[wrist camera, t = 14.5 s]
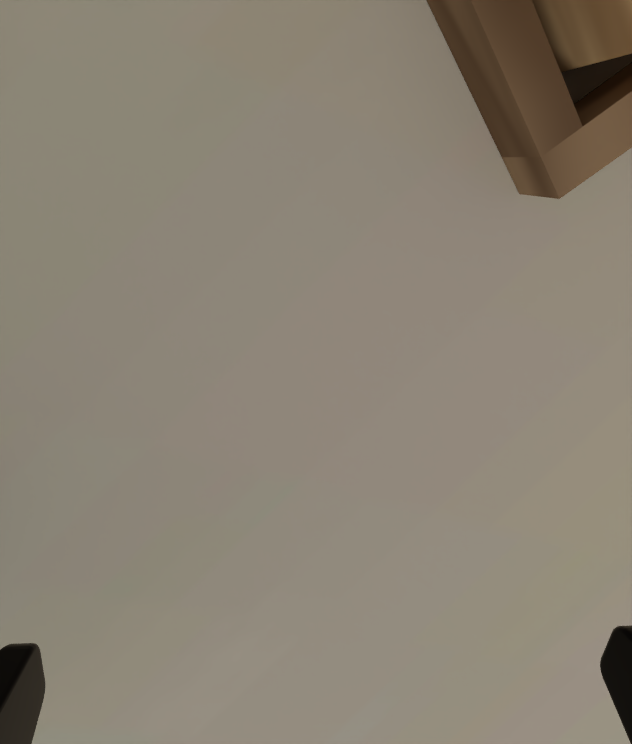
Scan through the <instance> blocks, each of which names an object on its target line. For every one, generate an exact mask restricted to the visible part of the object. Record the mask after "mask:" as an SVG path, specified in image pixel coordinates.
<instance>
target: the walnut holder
mask: <svg viewBox="0 0 632 744" xmlns="http://www.w3.org/2000/svg"><path fill="white" fill-rule="evenodd" d="M427 2H428V4H429V6H430V8H431V11H432V13H433V15H434V17H435V19H436V21H437V23H438V25H439V27H440V29H441V31H442V33H443V36H444V38H445V40H446V42H447V44H448V46H449V48H450V50H451V52H452V54H453V56H454V58H455V61H456V63H457V65H458V67H459V69H460V71H461V73H462V75H463V77H464V79H465V81H466V83H467V86H468V88H469V90H470V92H471V94H472V96H473V98H474V100H475V102H476V104H477V106H478V108H479V111H480V113H481V115H482V117H483V119H484V121H485V123H486V125H487V127H488V129H489V131H490V133H491V136H492V138H493V140H494V142H495V144H496V146H497V148H498V150H499V152H500V154H501V156H502V159H503V161H504V163H505V165H506V167H507V169H508V171H509V173H510V175H511V177H512V179H513V181H514V184H515V186H516V188H517V190H518V192H519V194H524V195H533V196H541V197H549V198H557V199H560V198H561V197H563V196H564V195H565V194H567V193H568V192H570V191H571V190H572V189H574V188H575V187H577V186H578V185H579V184H581V183H582V182H584V181H585V180H586V179H588V178H589V177H591V176H592V175H593V174H595V173H596V172H598V171H599V170H601V169H602V168H603V167H605V166H606V165H608V164H609V163H610V162H612V161H613V160H615V159H616V158H617V157H619V156H620V155H622V154H623V153H624V152H626V151H627V150H629V149H630V148H631V147H632V63H630V64H629V65H628V66H626V67H625V68H623V69H622V70H621V71H619V72H618V73H617V74H615V75H614V76H612V77H611V78H610V79H608V80H607V81H606V82H604V83H603V84H602V85H600V86H599V87H597V88H596V89H595V90H593V91H592V92H591V93H589V94H588V95H586V96H585V97H584V98H582V99H581V100H580V101H578V102H577V103H576V104H573V101H572V99H571V96H570V94H569V91H568V89H567V86H566V84H565V81H564V79H563V76H562V74H561V71H560V69H559V66H558V64H557V61H556V59H555V56H554V54H553V51H552V49H551V46H550V44H549V41H548V39H547V36H546V34H545V31H544V29H543V26H542V24H541V21H540V19H539V16H538V14H537V11H536V9H535V6H534V4H533V1H532V0H427Z"/></svg>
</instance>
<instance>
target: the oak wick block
mask: <svg viewBox="0 0 632 744" xmlns="http://www.w3.org/2000/svg"><path fill="white" fill-rule="evenodd" d="M532 1H533V4H534V6H535V9H536V11H537V14H538V16H539V19H540V21H541V24H542V26H543V29H544V31H545V34H546V36H547V39H548V41H549V44H550V46H551V49H552V51H553V54H554V56H555V59H556V61H557V64H558V66H559V69H560V71H561V72H563V71H567V70H571V69H575V68H579V67H582V66H586V65H590V64H594V63H598V62H601V61H605V60H609V59H613V58H617V57H621V56H624V55H628V54H632V0H532Z"/></svg>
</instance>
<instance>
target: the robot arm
mask: <svg viewBox="0 0 632 744" xmlns="http://www.w3.org/2000/svg"><path fill="white" fill-rule="evenodd" d="M600 667H601V673H602V676H603V679H604V681H605V684H606V686H607V689H608V691H609V693H610V696H611V698H612V700H613V703H614V705H615V707H616V710H617V712H618V714H619V717H620V719H621V721H622V724H623V726H624V728H625V731H626V733H627V736H628V738H629V740H630V743H631V744H632V626H618V627H616V628H615V629H614V630H613V632H612V634H611V636H610V638H609V641H608V643H607V646H606V648H605V650H604V653H603V655H602V657H601V662H600ZM44 694H45V678H44V672H43V665H42V659H41V653H40V649H39V647H38V645H37V644H34V643H24V644H9V645H7V646H5V647H3V648H2V649H1V650H0V744H31V743H32V740H33V736H34V732H35V729H36V725H37V721H38V718H39V714H40V710H41V707H42V703H43V699H44Z"/></svg>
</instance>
